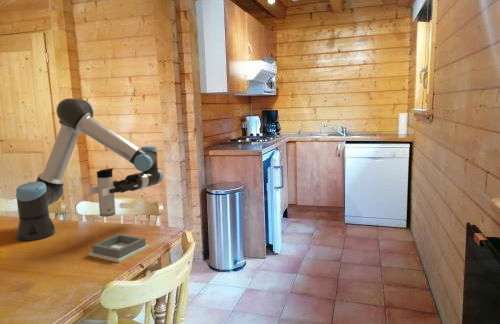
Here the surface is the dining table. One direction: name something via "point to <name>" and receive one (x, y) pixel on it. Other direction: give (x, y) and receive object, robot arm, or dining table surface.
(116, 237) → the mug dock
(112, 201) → the travel mug
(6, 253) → the dining table surface
